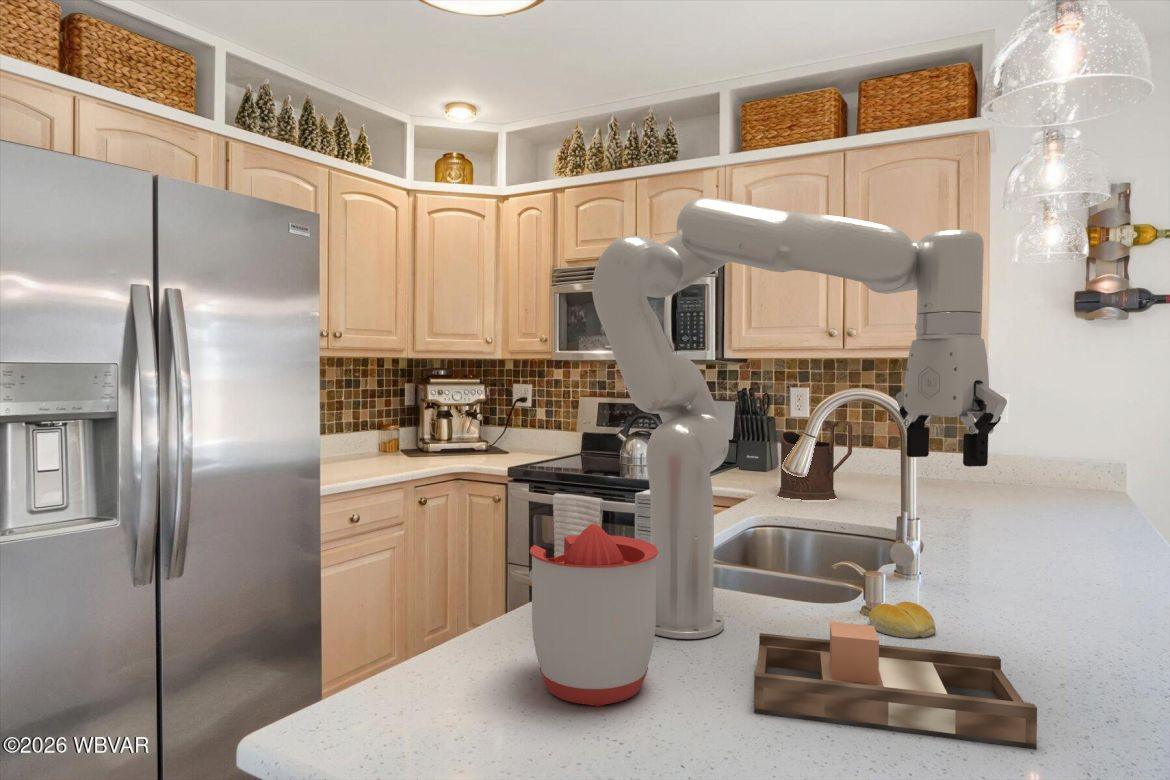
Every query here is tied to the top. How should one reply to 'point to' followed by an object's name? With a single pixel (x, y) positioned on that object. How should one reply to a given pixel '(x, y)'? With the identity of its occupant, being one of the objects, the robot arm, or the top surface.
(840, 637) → the block
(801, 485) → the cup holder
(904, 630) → the bread roll
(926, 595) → the top surface
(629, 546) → the citrus juicer
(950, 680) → the board
